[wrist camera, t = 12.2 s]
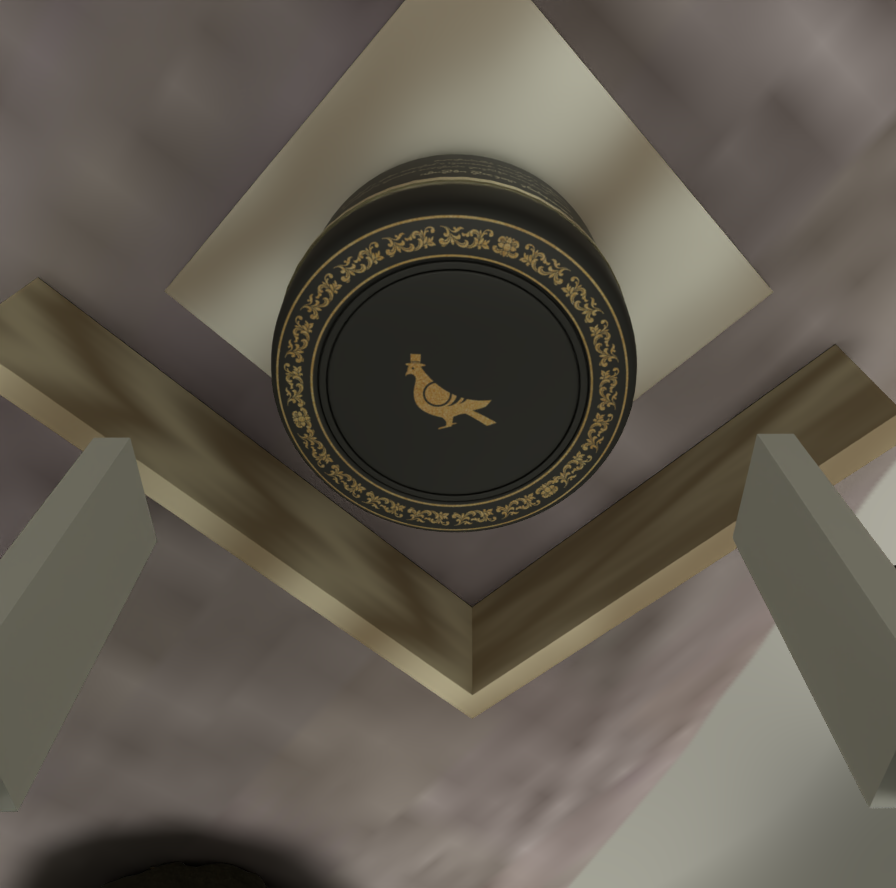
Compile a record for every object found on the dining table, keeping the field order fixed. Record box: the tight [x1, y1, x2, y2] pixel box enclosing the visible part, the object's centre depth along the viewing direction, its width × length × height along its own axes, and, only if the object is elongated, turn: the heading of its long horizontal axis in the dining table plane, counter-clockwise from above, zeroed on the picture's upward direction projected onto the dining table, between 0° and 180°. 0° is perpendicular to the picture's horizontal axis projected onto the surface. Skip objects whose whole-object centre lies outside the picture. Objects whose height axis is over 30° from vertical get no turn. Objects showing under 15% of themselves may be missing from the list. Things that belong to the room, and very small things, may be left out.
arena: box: [0, 0, 896, 719], centre depth 26 cm, size 23×20×5 cm
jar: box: [271, 154, 637, 532], centre depth 23 cm, size 10×10×8 cm
